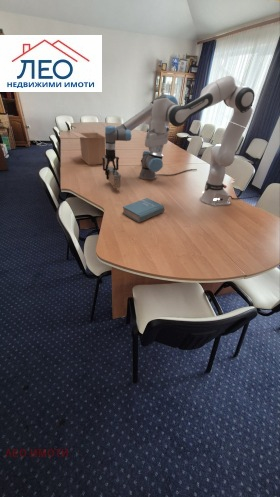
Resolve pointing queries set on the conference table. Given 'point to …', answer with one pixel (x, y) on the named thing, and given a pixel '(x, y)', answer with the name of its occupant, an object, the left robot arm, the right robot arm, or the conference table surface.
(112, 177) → the bar
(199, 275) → the conference table surface
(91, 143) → the box
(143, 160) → the left robot arm
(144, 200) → the book
